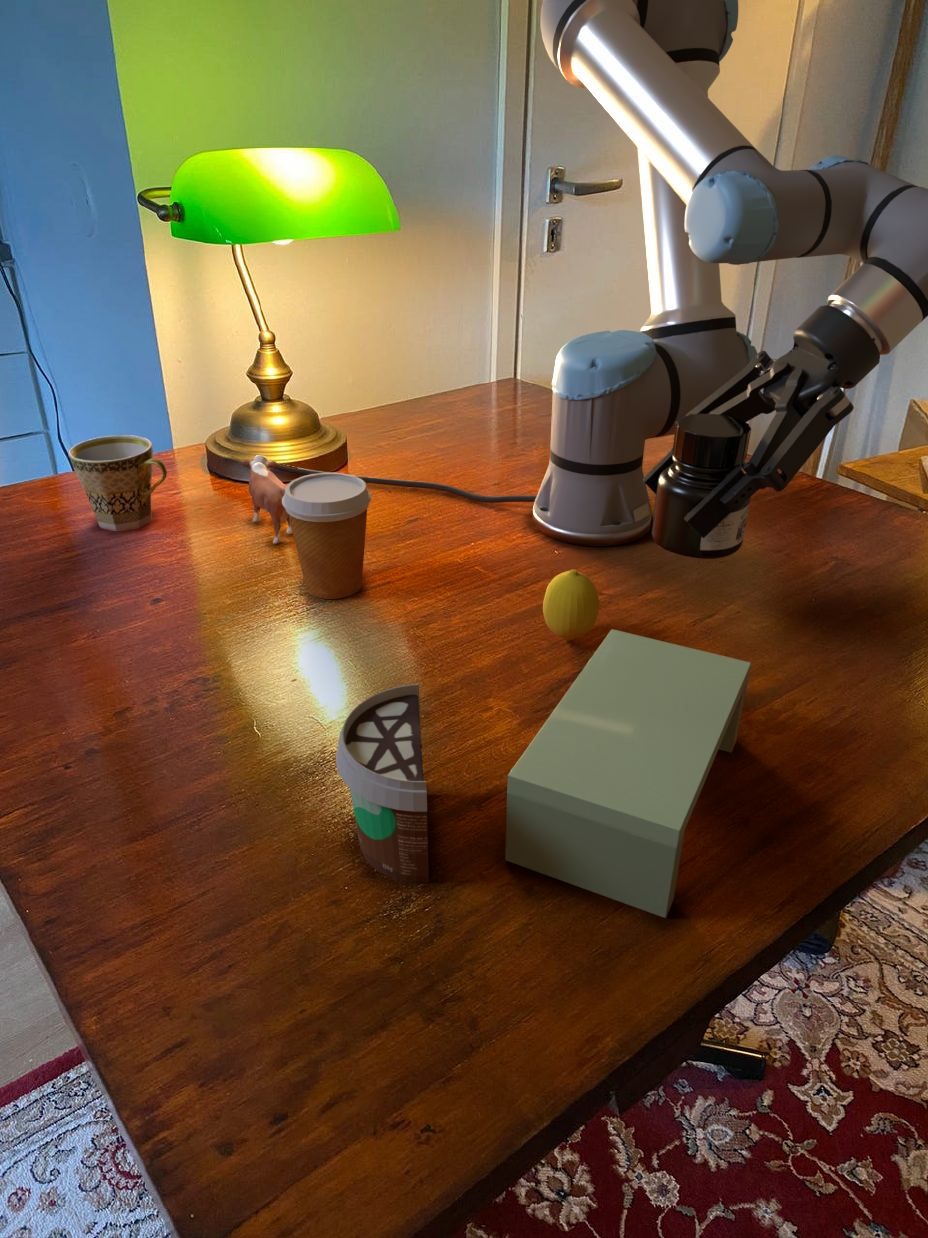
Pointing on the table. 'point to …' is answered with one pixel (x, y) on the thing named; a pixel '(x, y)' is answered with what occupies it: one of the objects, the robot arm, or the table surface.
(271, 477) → the bull figurine
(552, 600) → the lemon
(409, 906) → the table surface
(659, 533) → the ink bottle
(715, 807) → the table surface
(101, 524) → the ceramic cup
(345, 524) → the disposable coffee cup
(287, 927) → the table surface
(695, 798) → the shelf
